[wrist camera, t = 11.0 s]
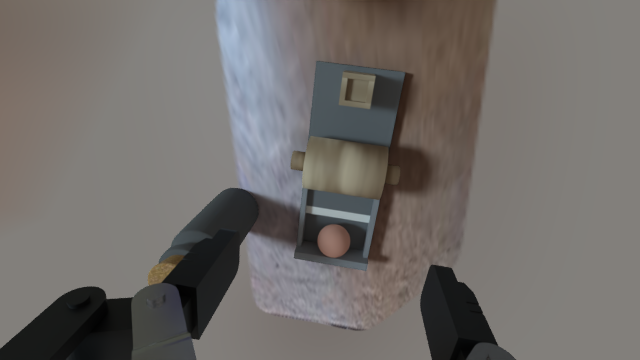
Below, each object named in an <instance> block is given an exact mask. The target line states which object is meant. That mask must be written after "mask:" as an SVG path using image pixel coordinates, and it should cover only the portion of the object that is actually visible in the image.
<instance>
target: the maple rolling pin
mask: <svg viewBox="0 0 640 360" xmlns="http://www.w3.org/2000/svg"><path fill="white" fill-rule="evenodd" d="M291 169H293V170H300V171H303V177H302V186H303V188H306V189H312V190H318V191H325V192H331V193H338V194H344V195H350V196H357V197H363V198H369V199H376V200H380V198H381V195H382V192H383V188H384V184H391V185H397V184H398V182H399V178H400V166H394V165H388V147H385V146H378V145H371V144H364V143H357V142H350V141H343V140H336V139H329V138H323V137H316V136H310V138H309V141H308V144H307V149H306V152H300V151H293V154H292V158H291Z"/></svg>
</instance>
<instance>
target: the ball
mask: <svg viewBox="0 0 640 360" xmlns="http://www.w3.org/2000/svg"><path fill="white" fill-rule="evenodd" d="M317 243H318V247H319V249H320V251H321V252H322V253H323V254H324V255H326V256H328V257H332V258H336V257H340V256H342V255H344V254H345V253H346V252H347V250H348V249H349V246H350V236H349V233H348V232H347V230H346V229H345V228H344V227H342V226H340V225H337V224H330V225H327V226H325V227H324V228H323V229H322V230H321V231H320V233H319V235H318V239H317Z"/></svg>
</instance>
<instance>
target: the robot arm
mask: <svg viewBox="0 0 640 360" xmlns="http://www.w3.org/2000/svg"><path fill="white" fill-rule="evenodd" d="M239 249H240V234H239V231H234V230H229V229H223V228H221V229H220V230H219V231H218V232H217V233H216V234H215V236H214V237H213V238H212V239H210V238H205V239H203V240H201V241H200V242H198V243H196V244H195V245H194V246H193V247H192V248H191V249H190V251H189V252H188V253H187V254H186V255H185V256H184V257H183V259H182V260H181V261H180V262H179V263H178V264H177V265H176V266H175V268H174V269H173V270H172V271H171V272H170V273H169V274H168V276H167V277H166V278H165V279H164V280H163V281H162V282H161V283H157V284H153V285H149V286H147V287H145V288H143V289H141V290H140V291H139V292H137V293H136V295H135V296H134V297H132V298H119V299H106V294H105V292H104V290H102V289H101V288H99V287H82V288H78V289H75V290H72V291H70V292H68V293H66V294H64V295H62V296H61V297H59V298H58V299H57V300H56V301H55V302H53V303H52V304H51V305H50V306H49V307H48V308H47V309H45V310H44V311H43V312H42V313H41V314H40V315H39V316H38V317H36V318H35V319H34V320H33V321H32V322H31V323H30V324H28V325H27V326H26V327H25V328H24V329H22V330H21V331H20V332H19V333H18V334H17V335H16V336H14V337H13V338H12V339H11V340H10V341H9V342H8V343H6V344H5V345H4V346H3V347H2V348H1V349H0V360H196V356H195V351H194V347H193V342H192V339H198V340H199V339H200V337H201V335H202V333H203V332H204V330H205V328H206V327H207V325H208V323H209V321H210V320H211V318H212V316H213V314H214V312H215V311H216V309H217V307H218V306H219V304H220V302H221V300H222V299H223V297H224V295H225V293H226V291H227V290H228V288H229V286H230V284H231V283H232V281H233V279H234V278H235V275H236V273H237V271H238V266H239ZM420 306H421V313H422V317H423V322H424V327H425V330H426V335H427V340H428V344H429V348H430V353H431V357H432V360H516V359H515V358H514V357H513V356H512V355H511V354H510V353H509V352H507V351H506V350H504V349H503V348H501V347H499V346H498V344H497V342H496V340H495V338H494V335H493V334H492V331H491V329H490V327H489V325H488V323H487V320H486V318H485V316H484V315H483V312H482V310H481V308H480V306H479V303H478V301H477V299H476V297H475V295H474V293H473V292H472V291H471V290H470V289H469V288H468V287H467V285H466V284H464V283H462V282H458V281H457V279H456V277H455V274H454V272H453V270H452V268H449V267H443V266H438V265H431V266H430V268H429V271H428V274H427V278H426V281H425V284H424V287H423V291H422V294H421V302H420Z"/></svg>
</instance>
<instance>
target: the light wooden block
mask: <svg viewBox="0 0 640 360" xmlns="http://www.w3.org/2000/svg"><path fill="white" fill-rule="evenodd" d="M375 77H376V76H375V74H371V73H363V72H355V71H347V70H345V71H344V72H343V76H342V83H341V91H340V98H339V105H343V106H351V107H358V108H365V109H370V106H371V100H372V94H373V88H374V83H375Z"/></svg>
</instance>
